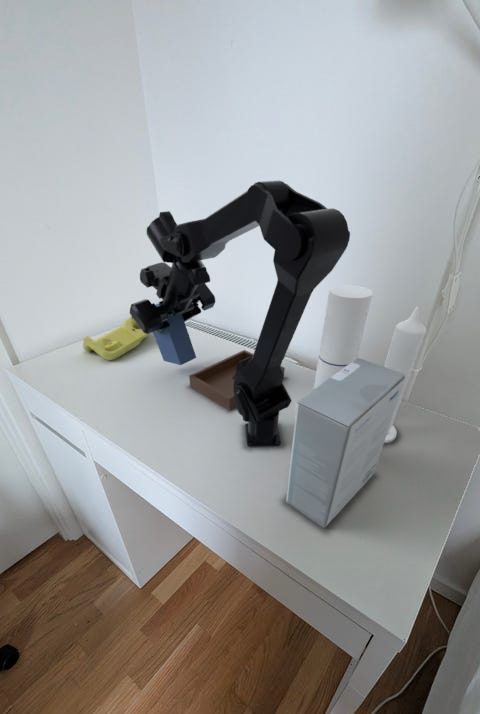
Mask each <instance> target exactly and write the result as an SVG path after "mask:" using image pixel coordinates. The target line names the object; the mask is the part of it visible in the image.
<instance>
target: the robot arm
mask: <svg viewBox="0 0 480 714" xmlns="http://www.w3.org/2000/svg"><path fill="white" fill-rule="evenodd" d="M258 227H259V228H260V232H261V235H262V238H263V240H264V242H265V243H267V244H268V245H269V246H270V247H271V248H272V249H274V254H273V260H272V262H273V266H274V269H275V270H274V271H275V274H276V278H277V281H276V284H275V288H274V291H273V294H272V297H271V300H270V303H269V306H268V309H267V312H266V315H265V317H264V321H263V325H262V327H261V330H260V333H259V336H258V339H257V342H256V345H255V349H254V351H253V353H252V354H253V356H252V357H249V358H247V359H244V360H242V361H239V362H238V364H237V366H236V372H235V375H234V376H233V377H232V379H234V385H233V389H234V396H235V400H236V404H237V407H236V408H237V411H238V414H239V415H240V416H242V420H243V421H244V422H246V423H245V425H244V429H245V439H246V440H245V441H246V446H247V447H250V448H251V447H252V448H253V447H277V446H281V445H282V439H281V435H280V430H279V419H280V412H281V411H283V410H285V409H287V408H289V407H290V404H291V403H292V398H291V395H290V394H289V392H288V391H287V389H286V387H285V385H284V383H283V381H284V379H283V377H284V378H285V373H284V374H283V371H282V368H281V366H282V363H283V361H284V358H285V356H286V354H287V351H288V349H289V346H290V345H291V342H292V340H293V337H294V336H295V333H296V330H297V328H298V325H299V324H300V321H301V319H302V317H303V314H304V311H305V310H306V307H307V305H308V303H309V300H310V299H311V296H312V294H313V292H314V290H315V288H317V287H318V285H320V284H321V282H322V281H324V280H325V278H326V277H327V276H328V275H329V274H330V273H331V272H332V271H333V270H334V268H335V267H336V266H337V264H338V262H339V261H340V259H341V258H342V256H343V254H344V253H345V252H346V250H347V248H348V246H349V243H350V237H351V232H350V230H349V225H348V221H347V220H346V216H345V215H344V214H343V213H342V212H341V211H340V210H338V209H336V208H333V207H331V208H327V207H326V206H325V205H324V204H322V203H321V202H319V201H317V200H315V199H313V198H310V197H309V196H307V195H304V194H302V193H300V192H298V191H296V190H295V189H294V188H293V187H291V186H290V185H289V184H287V183H285V182H284V181H282V180H266V181H265V180H264V181H257V182H254V183H253V184H252V185H250V186H249V188H248V189H247V190H246V191H245V192H243V193H242V194H241V195H238V196H237V197H236V198H233V200H231V201H229V202H228V203H226V204H225V205H224V206H222V207H220V208H219V209H217V210H216V211H214V212H213V213H211V214H210V215H209V216H207V217H205V218H202V219H196V220H191V221H187V222H183V223H180V224H178V223H177V222H176V220H175V218H174V216H173V214H172V213H171V211H170V210H169V211H167V210H166V211H160V212H159V215H158V217H156V218H154V219H153V220H152V221H151V222H150V224H149V225H148V226H147V227H146V236H147V238H148V239H149V242H151V244H152V246H153V247H154V249H155V251H156V253H157V254H158V256H159V257H160V258H161V259H160V260H161V261H162V262H158V263H157V262H156V263H155V264H151V265H148V266H146V267H144V268H141V269H140V273H139V281H140V283H141V284H142V285H144V287H146V288H152V287H153V288H154V290H156V293H155V295H156V296H157V298H158V299H160V301H158V304H159V305H160V306H158V307H156V304H155V303H154V302H153V303H152V302H151V301H150V300H149V299H147V298H145V299H142V300H140V301H137V302H134V303H131V304H130V307H129V314H130V317H131V316H132V317H133V319H134V320H135V321H136V323H137V324H138V325H139V327H140V328H141V330H142V331H143V332H144V333H146V334H149V333H150V334H151V333H153V332H154V331H156V330H157V332H158V333H159V334H160V333H162V332H163V331H164V330H165V329H167V328H168V327H169V326H170V324H169V323H168V322H167V319H168V316H170V315H174V316H177V315H180V314H182V316H183V319H184V322H185V323H186V322H187V321H189V320H190V319H192V318H194V317H196V316H198V315H200V314H201V313H202V310H203V312H204V311H207V310H209V309H212V308H214V306H215V304H216V296H215V294H214V293H213V291H211V289H210V288H209V286H208V285H207V283H210V282H211V276H210V274H209V272H208V271H207V267H206V265H205V264H204V262H203V261H204V260H210V259H214V258H216V257H217V256H219V255H220V254H221V253H222V252H223V251H224V250H225V249H226V245H227V244H228V243H229V242H230V241H232V240H234V239H236V238H239V237H240V236H242V235H244V234H246V233H249V232H250V231H252V230H254V229H256V228H258ZM167 263H168V264H167ZM169 263H170V264H171V266H170V265H169ZM199 303H200V304H201V308H200V306H199ZM150 334H149V335H150ZM247 422H248V423H247Z"/></svg>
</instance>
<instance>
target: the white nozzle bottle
mask: <svg viewBox="0 0 480 714" xmlns="http://www.w3.org/2000/svg"><path fill="white" fill-rule="evenodd" d="M426 333H427V327H425V325H424V324H423V323H422V322H421V321H420V306H416V307H415V308H414V309H413V312H412V313H411V315H410V316H409V317H408V318H407V319H405V320H403V321H400V322H399V323H397V324H396V326H395V328H394V332H393V335H392V339H391V341H390V344H389V348H388V352H387V355H386V359H385V362H384V365H383V367H385V368H388V369H391V370H394V371H397V372H399V373H402V374H405V380H404V383H403V386H402V389H401V392H400V395H399V398H398V401H397V404H396V407H395V410H394V413H393V416H392V419H391V422H390V426H389V429H388V432H387V435H386V438H385V441H384V444H387V443H391V442H393V441H394V440H395V439H396V437H397V433H398V432H397V429H396V427H395V426H394V422H395V419H396V416H397V413H398V411H399V409H400V406H401V402H402V400H403V397H404V394H405V391H406V389H407V386H408V383H409V380H410V378H411V376H412V375H411V374H412V372H413V369H414V366H415V363H416V360H417V358H418V356H419V353H420V350H421V348H422V344H423V341H424V339H425V336H426Z"/></svg>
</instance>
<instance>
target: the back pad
mask: <svg viewBox="0 0 480 714" xmlns="http://www.w3.org/2000/svg"><path fill="white" fill-rule="evenodd" d="M155 305H156V307H158V306H160V305H159V303H156V304H155ZM167 322H168V323H169V324H170V326H169V327H168V328H167V329H165V330H164V331H163V332H162V333H160V334H159V333H158V332H157V330H156V331H154V332H152V334H153V336H154V338H155V342H156V344H157V347H158V349H159V352H160V354H161V357H162V360H163V362H166V363H171V364H174V365H178V366H183V365H184V364H187V363H188V362H190V361H192V360H194V359H196V358H197V354H196V352H195V349H194V346H193V343H192V340H191V337H190V334H189V332H188V329H187V326H186V322H184V319H183V316H182V314H180V315H177V316H174V315H170V316H168V319H167Z"/></svg>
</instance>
